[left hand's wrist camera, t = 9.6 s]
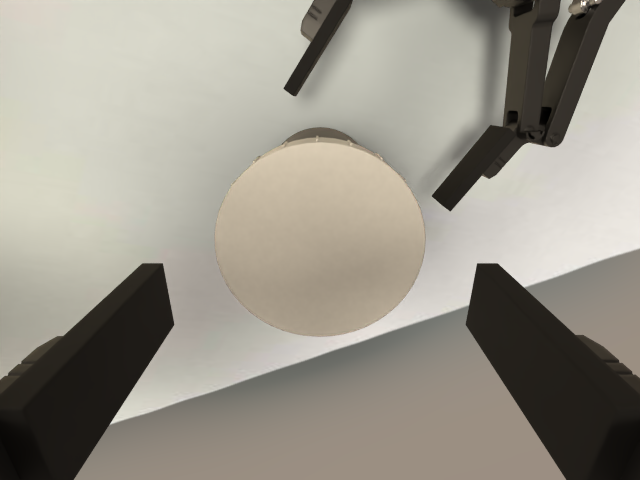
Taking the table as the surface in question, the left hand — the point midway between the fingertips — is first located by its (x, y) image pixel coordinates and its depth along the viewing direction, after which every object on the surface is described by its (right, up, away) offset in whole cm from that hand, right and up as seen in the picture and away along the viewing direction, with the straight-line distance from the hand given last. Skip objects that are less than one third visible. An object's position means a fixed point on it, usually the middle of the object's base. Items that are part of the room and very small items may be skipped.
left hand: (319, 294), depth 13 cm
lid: (0, +2, +4) cm, 5 cm away
